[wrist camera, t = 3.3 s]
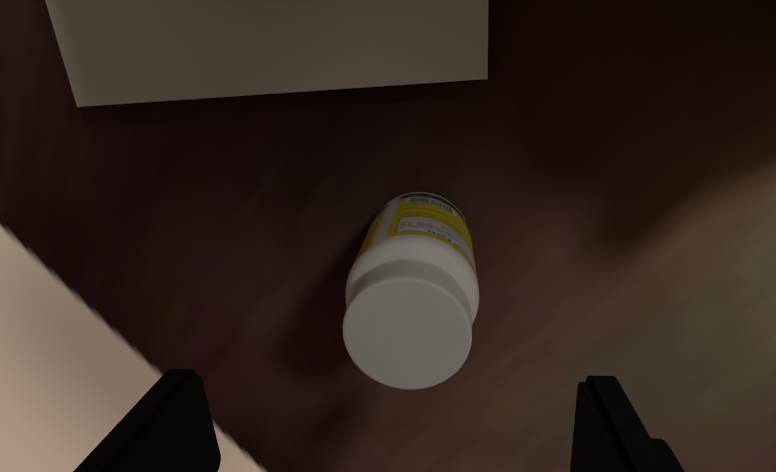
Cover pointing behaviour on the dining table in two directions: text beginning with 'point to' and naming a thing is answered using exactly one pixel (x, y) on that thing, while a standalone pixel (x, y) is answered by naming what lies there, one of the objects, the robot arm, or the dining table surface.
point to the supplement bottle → (412, 294)
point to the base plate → (263, 46)
